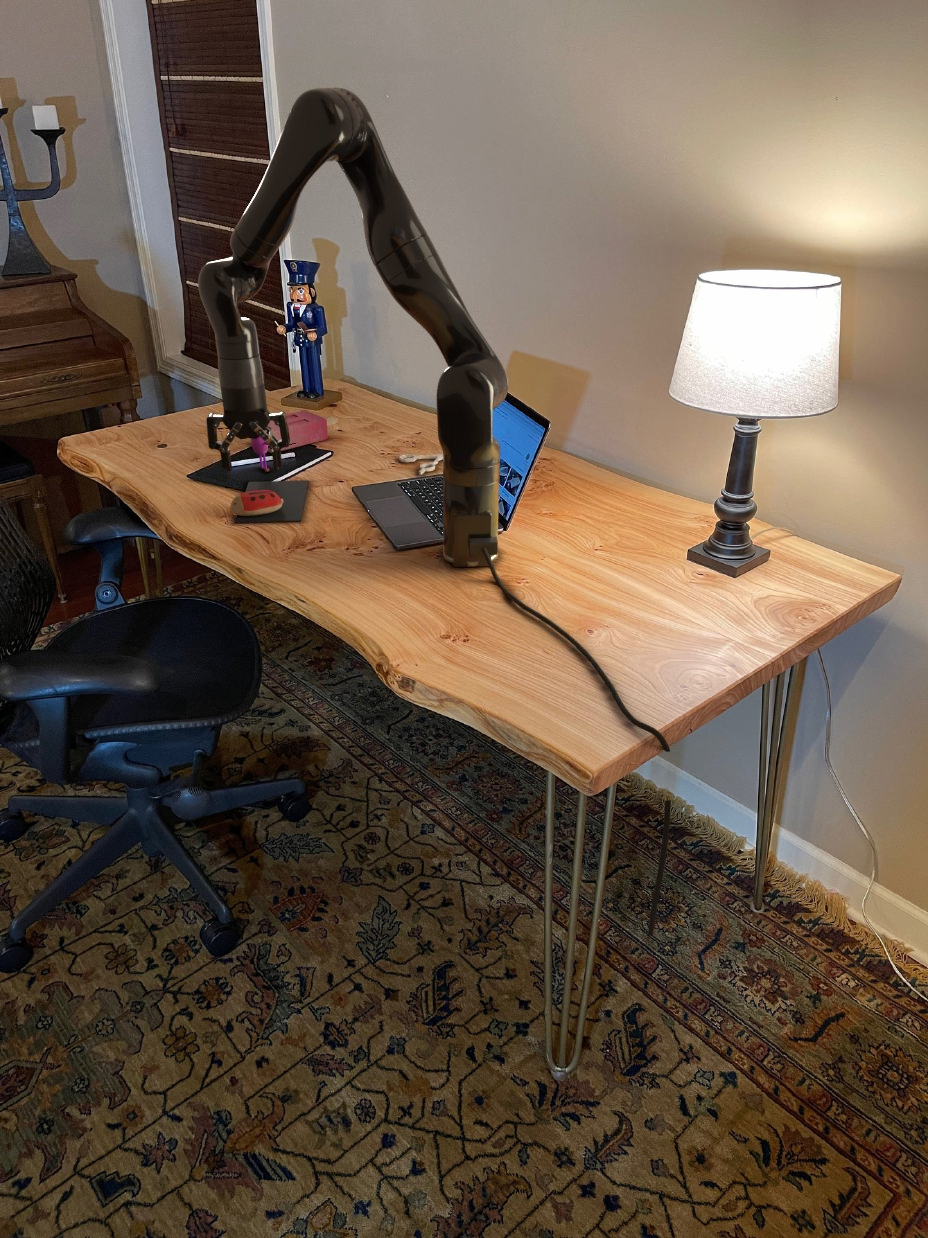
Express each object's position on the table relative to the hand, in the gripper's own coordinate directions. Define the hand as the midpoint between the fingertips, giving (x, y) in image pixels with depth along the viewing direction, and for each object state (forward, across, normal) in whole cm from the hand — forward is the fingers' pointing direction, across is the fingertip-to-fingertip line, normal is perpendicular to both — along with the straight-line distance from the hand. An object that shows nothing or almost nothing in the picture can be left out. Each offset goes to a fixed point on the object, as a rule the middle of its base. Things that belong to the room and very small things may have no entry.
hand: (253, 469), depth 165 cm
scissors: (+9, +36, +27) cm, 46 cm away
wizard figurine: (+8, -2, +22) cm, 24 cm away
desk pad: (+8, +2, +5) cm, 10 cm away
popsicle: (+8, +4, +42) cm, 43 cm away
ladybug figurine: (+8, 0, 0) cm, 8 cm away
